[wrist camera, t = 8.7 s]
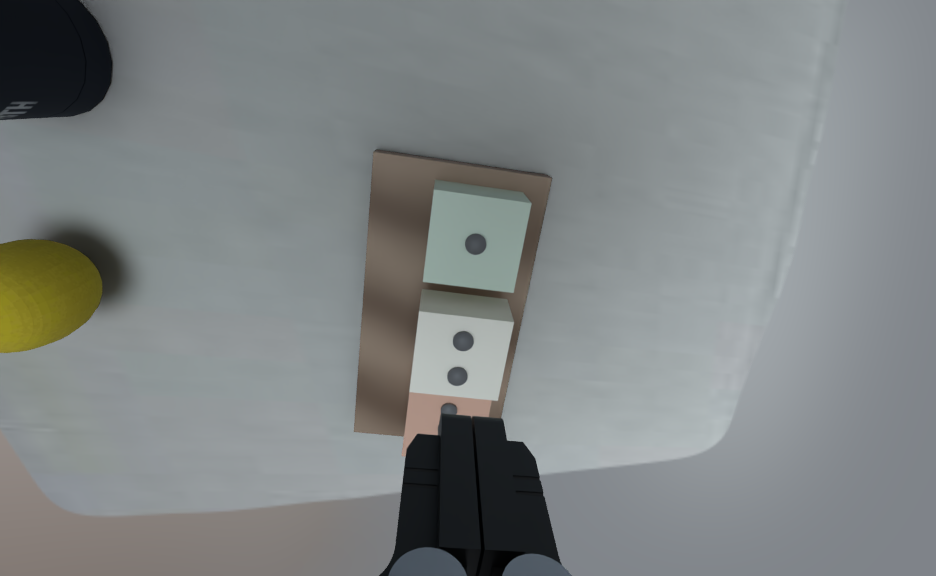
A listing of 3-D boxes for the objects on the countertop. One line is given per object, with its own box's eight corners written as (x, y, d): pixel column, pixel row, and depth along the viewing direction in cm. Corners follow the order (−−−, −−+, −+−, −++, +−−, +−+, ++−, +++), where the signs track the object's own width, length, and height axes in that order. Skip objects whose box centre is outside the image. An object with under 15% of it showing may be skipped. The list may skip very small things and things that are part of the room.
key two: (421, 289, 27) (418, 312, 24) (507, 299, 27) (514, 323, 24) (413, 363, 28) (409, 394, 25) (492, 371, 29) (497, 403, 26)
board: (376, 149, 26) (373, 151, 25) (547, 175, 27) (552, 178, 26) (356, 420, 33) (353, 431, 32) (493, 433, 34) (495, 444, 33)
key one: (435, 179, 26) (433, 190, 23) (522, 192, 26) (532, 204, 23) (425, 263, 28) (422, 283, 25) (506, 273, 28) (513, 294, 25)
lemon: (21, 222, 27) (-140, 269, 20) (120, 225, 27) (-1, 273, 20) (49, 308, 29) (-86, 380, 22) (141, 310, 29) (38, 382, 22)
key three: (413, 363, 30) (409, 392, 27) (488, 371, 31) (492, 400, 28) (405, 425, 32) (401, 458, 29) (476, 431, 33) (479, 465, 30)
